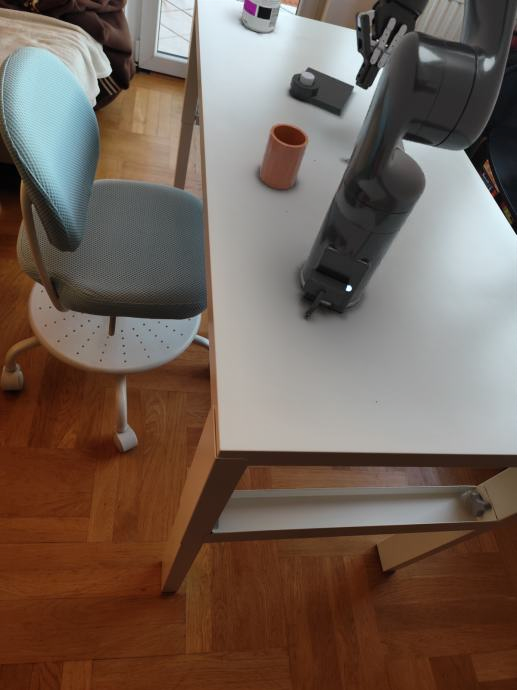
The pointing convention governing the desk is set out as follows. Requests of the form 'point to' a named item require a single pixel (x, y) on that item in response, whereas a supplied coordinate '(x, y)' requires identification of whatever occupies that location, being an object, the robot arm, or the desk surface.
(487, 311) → the desk surface
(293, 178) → the terracotta flower pot
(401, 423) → the desk surface
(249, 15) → the supplement can
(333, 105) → the scale
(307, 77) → the button
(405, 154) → the robot arm
